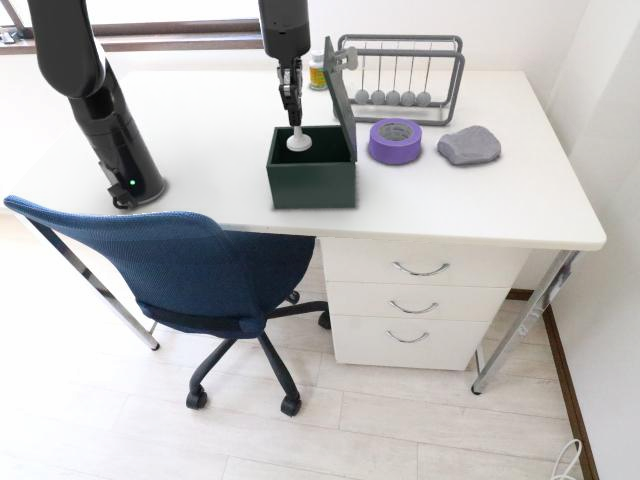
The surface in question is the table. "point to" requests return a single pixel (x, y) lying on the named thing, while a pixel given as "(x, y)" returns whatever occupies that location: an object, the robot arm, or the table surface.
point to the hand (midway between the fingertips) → (296, 120)
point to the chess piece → (299, 140)
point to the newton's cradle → (408, 96)
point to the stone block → (470, 146)
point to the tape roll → (395, 150)
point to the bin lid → (341, 91)
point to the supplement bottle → (317, 70)
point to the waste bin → (311, 170)
